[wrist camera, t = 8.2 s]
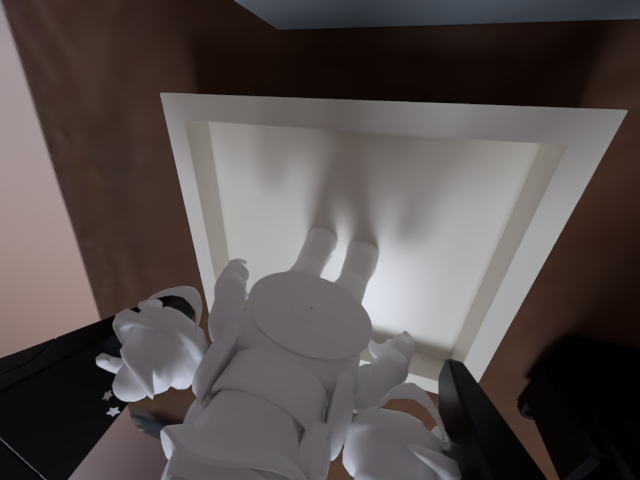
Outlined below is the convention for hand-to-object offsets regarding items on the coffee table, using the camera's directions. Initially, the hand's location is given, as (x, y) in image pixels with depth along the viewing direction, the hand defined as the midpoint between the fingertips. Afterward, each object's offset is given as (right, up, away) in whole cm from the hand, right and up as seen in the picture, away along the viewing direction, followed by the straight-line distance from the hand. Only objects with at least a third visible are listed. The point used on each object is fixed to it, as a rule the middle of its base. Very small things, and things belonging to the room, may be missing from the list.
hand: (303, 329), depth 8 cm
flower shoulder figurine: (+2, +3, +5) cm, 6 cm away
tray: (+2, +3, +5) cm, 6 cm away
